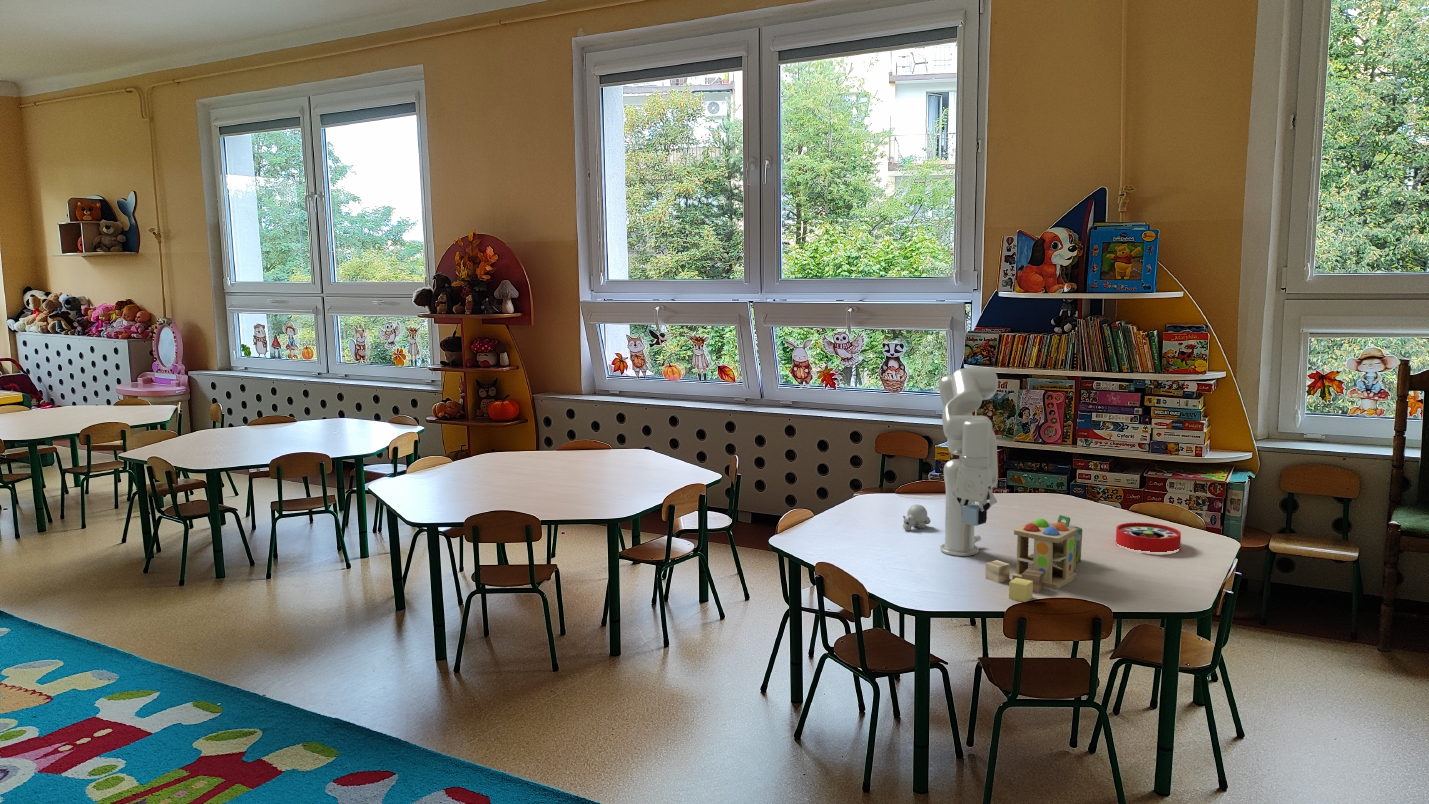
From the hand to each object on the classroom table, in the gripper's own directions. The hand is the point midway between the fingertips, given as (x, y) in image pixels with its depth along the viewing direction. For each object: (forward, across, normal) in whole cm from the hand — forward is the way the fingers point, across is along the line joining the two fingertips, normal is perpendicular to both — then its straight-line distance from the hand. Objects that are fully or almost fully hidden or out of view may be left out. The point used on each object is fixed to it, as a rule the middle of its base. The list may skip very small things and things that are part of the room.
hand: (973, 520), depth 277 cm
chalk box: (+21, +5, +42) cm, 47 cm away
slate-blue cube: (+1, 0, 0) cm, 1 cm away
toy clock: (+21, +16, +78) cm, 82 cm away
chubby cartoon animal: (+21, -52, +38) cm, 68 cm away
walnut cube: (+21, +13, +11) cm, 27 cm away
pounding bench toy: (+21, +10, +26) cm, 35 cm away
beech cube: (+21, +1, +11) cm, 23 cm away
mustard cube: (+20, +15, +2) cm, 25 cm away
